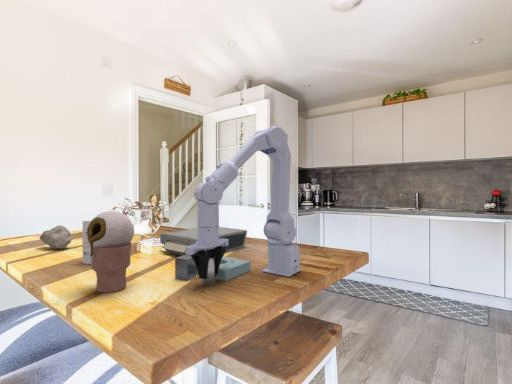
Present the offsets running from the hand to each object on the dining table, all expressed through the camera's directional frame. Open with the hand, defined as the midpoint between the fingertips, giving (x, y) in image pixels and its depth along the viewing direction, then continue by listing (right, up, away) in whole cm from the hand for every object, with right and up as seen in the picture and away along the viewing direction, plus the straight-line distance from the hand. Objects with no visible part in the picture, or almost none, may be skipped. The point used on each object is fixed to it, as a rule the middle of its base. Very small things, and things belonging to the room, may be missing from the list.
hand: (208, 276), depth 79 cm
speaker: (-9, -2, +43) cm, 44 cm away
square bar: (-7, -2, +5) cm, 9 cm away
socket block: (+2, -2, +11) cm, 11 cm away
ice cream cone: (-25, -2, -4) cm, 25 cm away
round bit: (0, -2, 0) cm, 2 cm away
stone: (-72, -2, +45) cm, 85 cm away
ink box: (-42, -2, +22) cm, 47 cm away
